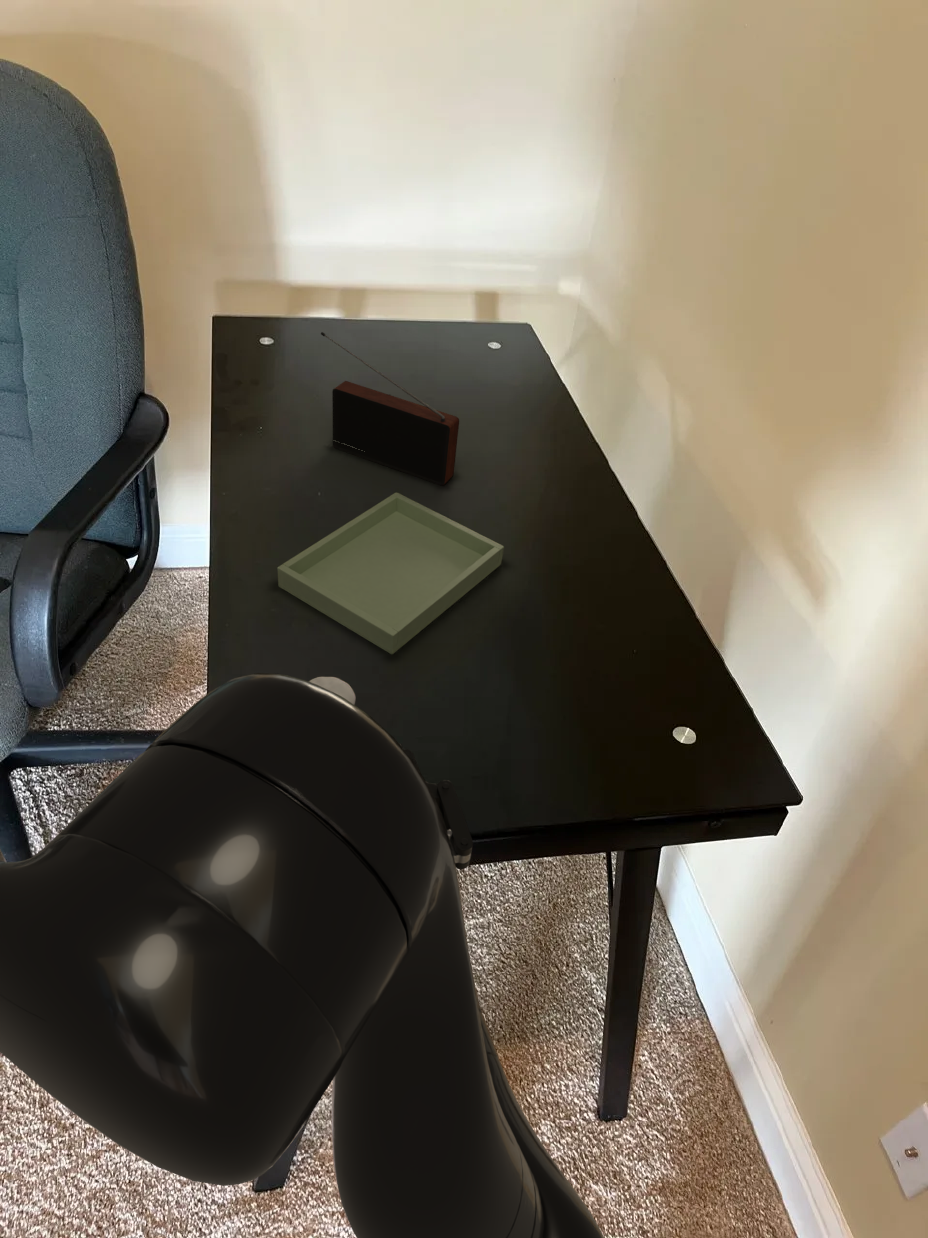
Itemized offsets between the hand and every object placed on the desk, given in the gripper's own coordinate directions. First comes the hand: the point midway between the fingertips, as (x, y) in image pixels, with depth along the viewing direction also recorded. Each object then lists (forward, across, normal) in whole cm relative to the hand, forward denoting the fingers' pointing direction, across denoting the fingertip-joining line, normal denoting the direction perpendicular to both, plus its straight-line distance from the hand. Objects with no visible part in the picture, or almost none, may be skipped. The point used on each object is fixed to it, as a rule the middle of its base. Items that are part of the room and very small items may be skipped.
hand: (340, 762), depth 62 cm
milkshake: (+6, 0, +8) cm, 10 cm away
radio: (+52, -19, +8) cm, 56 cm away
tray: (+29, -13, +8) cm, 33 cm away
